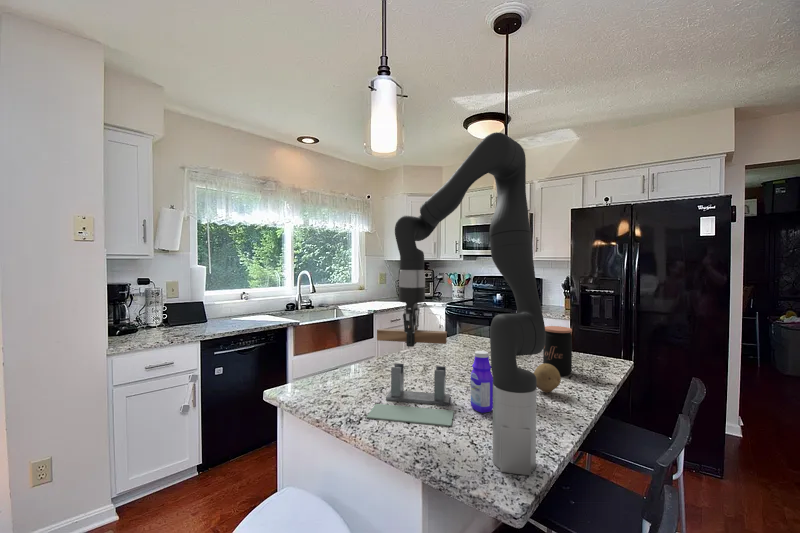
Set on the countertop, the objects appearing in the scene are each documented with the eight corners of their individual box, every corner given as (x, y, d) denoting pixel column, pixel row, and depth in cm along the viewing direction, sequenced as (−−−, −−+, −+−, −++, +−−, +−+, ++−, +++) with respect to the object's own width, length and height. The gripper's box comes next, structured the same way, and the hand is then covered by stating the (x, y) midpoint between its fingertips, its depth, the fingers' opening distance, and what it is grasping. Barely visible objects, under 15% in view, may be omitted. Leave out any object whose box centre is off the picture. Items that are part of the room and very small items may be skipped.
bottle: (466, 406, 115) (467, 350, 114) (482, 403, 117) (483, 348, 116) (480, 415, 108) (480, 355, 108) (496, 412, 110) (497, 354, 110)
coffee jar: (537, 370, 152) (537, 327, 152) (556, 367, 157) (556, 325, 157) (558, 378, 143) (558, 331, 142) (577, 374, 147) (578, 329, 147)
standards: (448, 405, 115) (448, 372, 115) (385, 400, 119) (386, 367, 119) (450, 397, 122) (450, 366, 122) (391, 392, 126) (391, 362, 126)
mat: (451, 426, 100) (451, 425, 100) (366, 418, 105) (366, 416, 105) (453, 412, 110) (453, 410, 110) (376, 404, 115) (376, 403, 115)
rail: (445, 344, 104) (445, 333, 104) (376, 340, 108) (376, 330, 108) (446, 341, 107) (446, 331, 107) (379, 338, 111) (379, 328, 111)
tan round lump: (564, 398, 122) (565, 368, 122) (537, 397, 122) (537, 367, 122) (555, 388, 131) (555, 360, 131) (529, 388, 131) (529, 360, 131)
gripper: (421, 287, 100) (420, 351, 100) (428, 284, 113) (427, 340, 113) (393, 286, 101) (393, 349, 101) (404, 283, 115) (403, 339, 115)
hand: (411, 344), depth 107 cm, fingers closed on rail, 3 cm apart
